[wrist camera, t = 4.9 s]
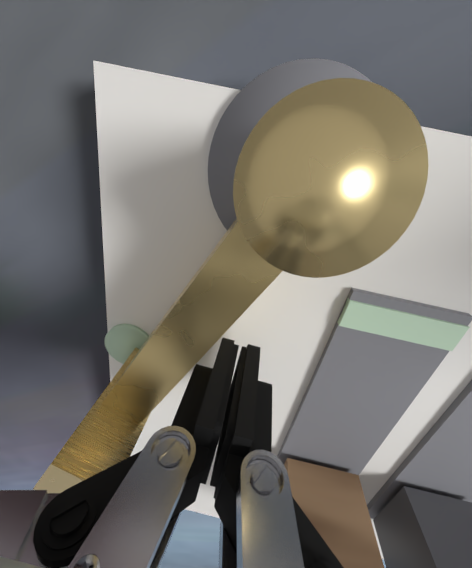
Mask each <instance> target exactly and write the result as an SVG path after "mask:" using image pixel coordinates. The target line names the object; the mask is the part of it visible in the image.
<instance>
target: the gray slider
mask: <svg viewBox="0 0 472 568" xmlns="http://www.w3.org/2000/svg"><path fill="white" fill-rule="evenodd" d="M373 522H374V525H375V529H376V532H377V536H378V539H379V543H380V547H381V550H382V554H383V557H384V561H385V564H386V568H472V502H467V501H463V500H459V499H455V498H451V497H447V496H443V495H439V494H434V493H430V492H426V491H422V490H418V489H414V488H410V487H406V486H403V487H402V489H401V490H400V491H399V492H398V493H397V494H396V495H395V496H394V497H393V498H392V500H391V501H390V502H389V503H388V504H387V505H386V506H385V507H384V508H383V509H382V511H381V512H380V513H379V514H378V515H377V516H376V517H375V518H374V519H373Z"/></svg>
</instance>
